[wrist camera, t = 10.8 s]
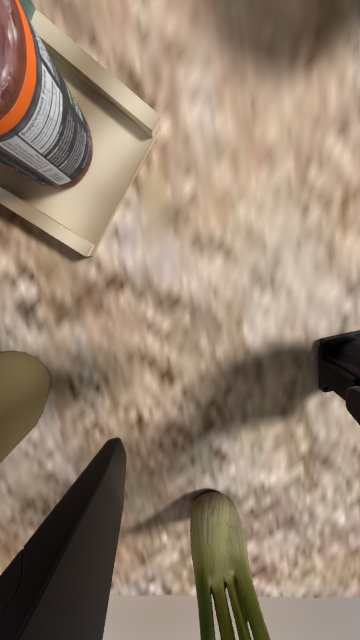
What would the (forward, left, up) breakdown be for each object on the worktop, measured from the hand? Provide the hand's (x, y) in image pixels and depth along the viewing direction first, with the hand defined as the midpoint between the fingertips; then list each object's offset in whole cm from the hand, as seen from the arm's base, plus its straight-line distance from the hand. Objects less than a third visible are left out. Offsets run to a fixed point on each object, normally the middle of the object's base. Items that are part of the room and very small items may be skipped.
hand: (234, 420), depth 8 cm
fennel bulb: (+2, +25, -13) cm, 28 cm away
